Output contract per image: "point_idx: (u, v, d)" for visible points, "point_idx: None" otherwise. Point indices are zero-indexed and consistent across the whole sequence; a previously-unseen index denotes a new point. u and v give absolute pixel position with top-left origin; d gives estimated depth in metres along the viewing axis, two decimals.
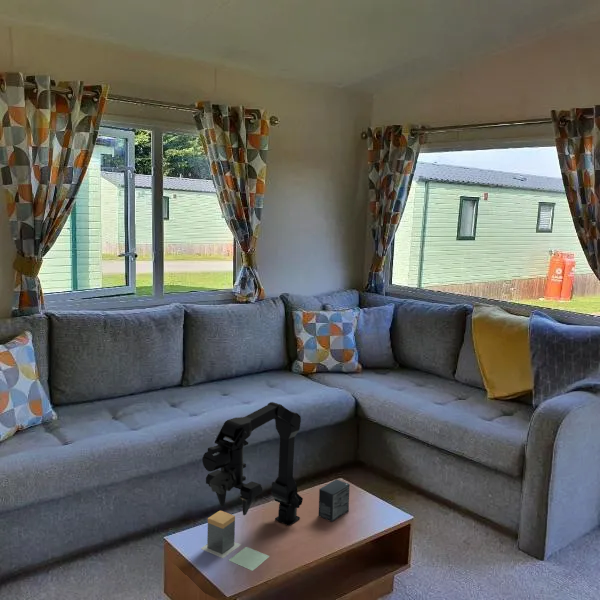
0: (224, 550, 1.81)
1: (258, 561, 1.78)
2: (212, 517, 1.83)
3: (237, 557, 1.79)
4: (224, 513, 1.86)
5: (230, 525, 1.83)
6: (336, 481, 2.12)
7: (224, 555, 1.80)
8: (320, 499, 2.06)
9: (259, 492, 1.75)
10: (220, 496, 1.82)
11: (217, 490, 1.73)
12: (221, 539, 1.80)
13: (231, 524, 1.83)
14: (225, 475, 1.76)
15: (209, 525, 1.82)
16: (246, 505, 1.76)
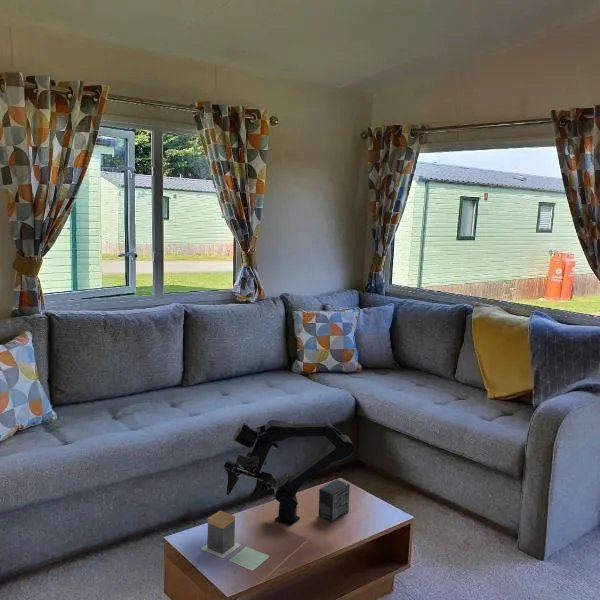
0: (224, 550, 1.81)
1: (258, 561, 1.78)
2: (212, 517, 1.83)
3: (237, 557, 1.79)
4: (224, 513, 1.86)
5: (230, 525, 1.83)
6: (336, 481, 2.12)
7: (224, 555, 1.80)
8: (320, 499, 2.06)
9: (273, 484, 1.90)
10: (230, 483, 1.94)
11: (243, 462, 1.89)
12: (221, 539, 1.80)
13: (231, 524, 1.83)
14: None
15: (209, 525, 1.82)
16: (257, 492, 1.89)
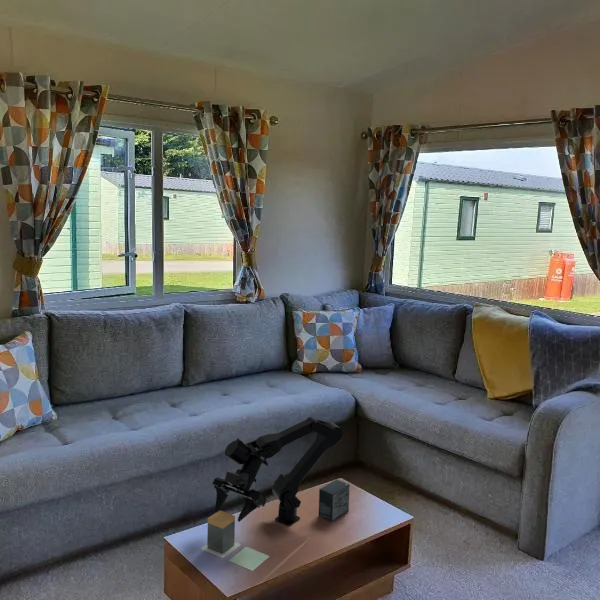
0: (224, 550, 1.81)
1: (258, 561, 1.78)
2: (212, 517, 1.83)
3: (237, 557, 1.79)
4: (224, 513, 1.86)
5: (230, 525, 1.83)
6: (336, 481, 2.12)
7: (224, 555, 1.80)
8: (320, 499, 2.06)
9: (263, 503, 1.86)
10: (219, 501, 1.90)
11: (231, 479, 1.85)
12: (221, 539, 1.80)
13: (231, 524, 1.83)
14: (240, 474, 1.89)
15: (209, 525, 1.82)
16: (245, 510, 1.84)
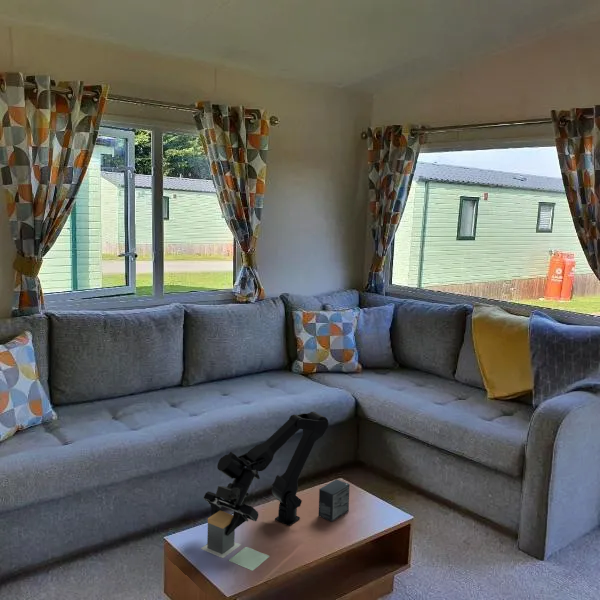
0: (224, 550, 1.81)
1: (258, 561, 1.78)
2: (212, 517, 1.83)
3: (237, 557, 1.79)
4: (224, 513, 1.86)
5: None
6: (336, 481, 2.12)
7: (224, 555, 1.80)
8: (320, 499, 2.06)
9: (255, 517, 1.83)
10: None
11: (223, 494, 1.81)
12: (221, 539, 1.80)
13: None
14: None
15: (209, 525, 1.82)
16: (233, 524, 1.82)
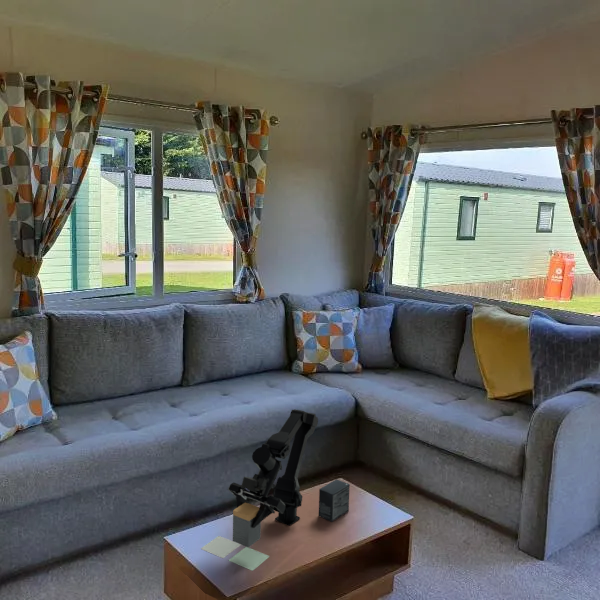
0: (250, 543, 1.76)
1: (258, 561, 1.78)
2: (238, 509, 1.77)
3: (237, 557, 1.79)
4: (250, 505, 1.80)
5: None
6: (336, 481, 2.12)
7: (224, 555, 1.80)
8: (320, 499, 2.06)
9: (282, 509, 1.77)
10: None
11: (249, 485, 1.76)
12: (247, 532, 1.75)
13: None
14: (258, 480, 1.80)
15: (234, 517, 1.77)
16: (260, 516, 1.76)
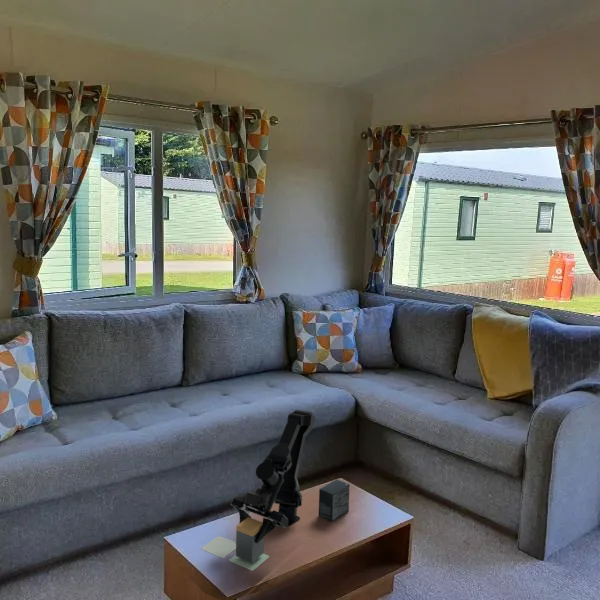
0: (253, 558, 1.76)
1: (258, 561, 1.78)
2: (241, 524, 1.77)
3: (237, 557, 1.79)
4: (253, 520, 1.80)
5: None
6: (336, 481, 2.12)
7: (224, 555, 1.80)
8: (320, 499, 2.06)
9: (285, 524, 1.77)
10: None
11: (252, 501, 1.76)
12: (250, 547, 1.75)
13: None
14: (261, 494, 1.80)
15: (238, 533, 1.77)
16: (263, 531, 1.76)
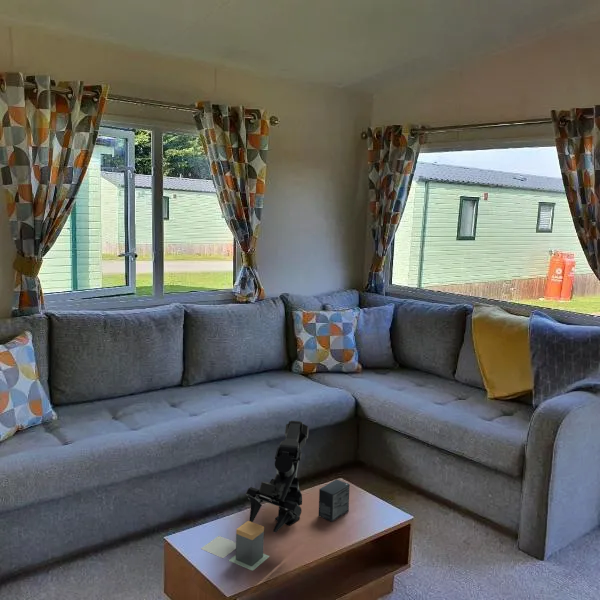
0: (253, 562, 1.76)
1: (258, 561, 1.78)
2: (241, 528, 1.77)
3: None
4: (253, 524, 1.80)
5: (259, 536, 1.77)
6: (336, 481, 2.12)
7: (224, 555, 1.80)
8: (320, 499, 2.06)
9: (298, 513, 1.84)
10: (253, 511, 1.88)
11: (267, 490, 1.83)
12: (250, 551, 1.75)
13: (260, 535, 1.78)
14: (275, 484, 1.87)
15: (238, 536, 1.77)
16: (281, 521, 1.82)
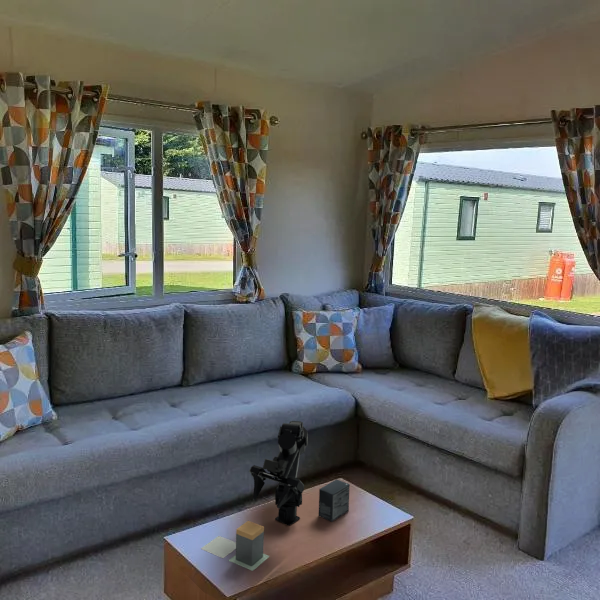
0: (253, 562, 1.76)
1: (258, 561, 1.78)
2: (241, 528, 1.77)
3: None
4: (253, 524, 1.80)
5: (259, 536, 1.77)
6: (336, 481, 2.12)
7: (224, 555, 1.80)
8: (320, 499, 2.06)
9: (301, 489, 1.87)
10: (257, 488, 1.91)
11: (270, 467, 1.86)
12: (250, 551, 1.75)
13: (260, 535, 1.78)
14: None
15: (238, 536, 1.77)
16: (284, 497, 1.86)
